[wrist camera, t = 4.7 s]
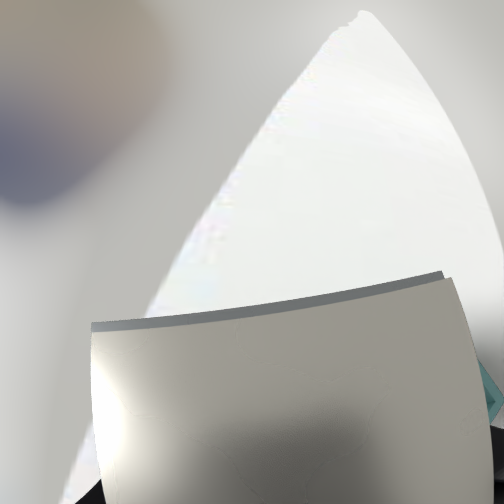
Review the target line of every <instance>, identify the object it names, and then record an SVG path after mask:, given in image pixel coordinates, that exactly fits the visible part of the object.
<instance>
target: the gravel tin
mask: <svg viewBox="0 0 504 504" xmlns="http://www.w3.org/2000/svg"><path fill="white" fill-rule="evenodd" d="M91 389H92V408H93V421H94V432H95V441H96V449H97V456H98V463H99V469H100V475H101V481H102V486H103V492H104V496H105V501H106V504H493V501H494V474H493V454H492V442H491V432H490V424H489V417H488V410H487V404H486V398H485V392H484V387H483V382H482V377H481V373H480V368H479V364H478V360H477V356H476V352H475V348H474V345H473V341H472V337H471V334H470V330H469V327H468V324H467V321H466V317H465V314H464V311H463V308H462V305H461V302H460V299H459V297H458V294H457V291H456V288H455V286H454V283H453V280H452V278H451V277H450V278H447V279H445V278H444V276H443V273H442V271H437V272H433V273H429V274H424V275H420V276H415V277H411V278H406V279H401V280H397V281H392V282H387V283H382V284H377V285H372V286H367V287H362V288H356V289H351V290H346V291H340V292H335V293H329V294H323V295H317V296H312V297H306V298H300V299H293V300H287V301H281V302H274V303H267V304H261V305H254V306H246V307H239V308H232V309H224V310H216V311H208V312H200V313H191V314H182V315H173V316H163V317H153V318H143V319H131V320H119V321H107V322H92V324H91Z"/></svg>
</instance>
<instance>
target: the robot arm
mask: <svg viewBox="0 0 504 504" xmlns="http://www.w3.org/2000/svg"><path fill="white" fill-rule="evenodd" d="M490 432H491V442H492V454H493V474H494V501H493V504H504V429H501V428H498V427H495V426H491V425H490ZM75 504H106V501H105V496H104V492H103V486H102V481H101V479H100V480H99V481H98V482H97V484H96V485H95V486H94V487H93V488H92V489H91V490H90V491H89V492H88V493H87V494H86V495H84V496H83V497H82V498H81V499H80V500H79V501H78V502H76V503H75Z"/></svg>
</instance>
